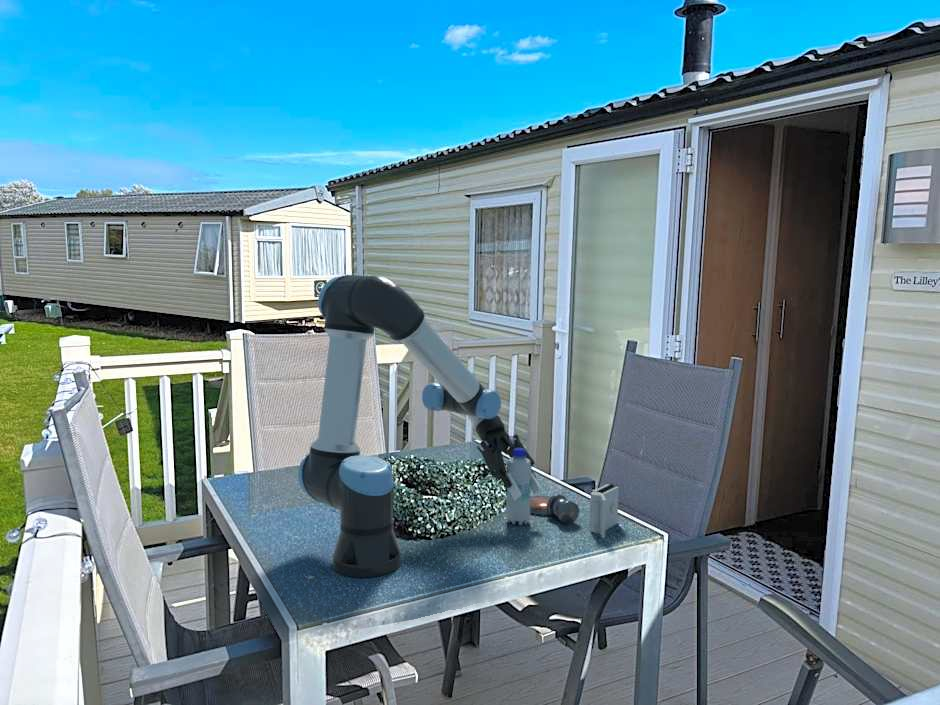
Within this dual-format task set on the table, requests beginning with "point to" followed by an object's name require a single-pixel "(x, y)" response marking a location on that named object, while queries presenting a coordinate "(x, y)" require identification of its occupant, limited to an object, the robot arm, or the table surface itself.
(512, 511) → the bottle
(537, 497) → the fitting
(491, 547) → the table surface
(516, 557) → the table surface
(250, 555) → the table surface
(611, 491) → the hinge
